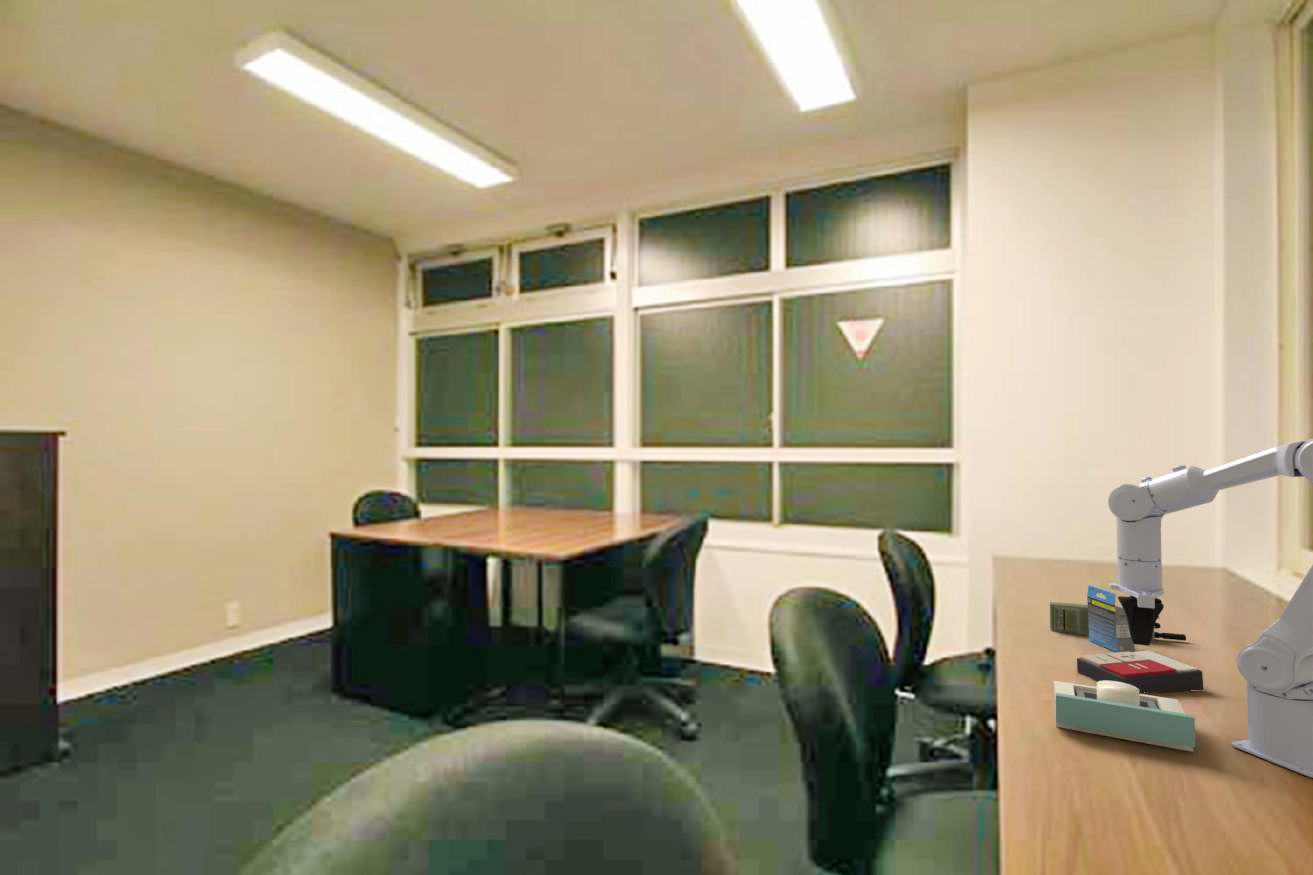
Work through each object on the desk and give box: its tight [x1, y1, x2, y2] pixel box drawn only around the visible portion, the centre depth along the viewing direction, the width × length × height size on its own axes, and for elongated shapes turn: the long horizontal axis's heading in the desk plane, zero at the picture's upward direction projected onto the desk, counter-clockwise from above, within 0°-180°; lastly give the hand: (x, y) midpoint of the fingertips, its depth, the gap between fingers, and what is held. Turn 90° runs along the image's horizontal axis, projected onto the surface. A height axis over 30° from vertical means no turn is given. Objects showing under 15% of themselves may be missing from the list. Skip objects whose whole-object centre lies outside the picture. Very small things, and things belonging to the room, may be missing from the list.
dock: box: [1053, 680, 1194, 753], centre depth 97 cm, size 11×16×4 cm
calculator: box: [1076, 650, 1204, 694], centre depth 115 cm, size 11×4×15 cm
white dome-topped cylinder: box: [1096, 680, 1140, 706], centre depth 96 cm, size 5×5×4 cm
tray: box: [1055, 689, 1196, 749], centre depth 96 cm, size 11×16×4 cm
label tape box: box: [1086, 584, 1136, 653], centre depth 135 cm, size 9×4×12 cm, turn 0°
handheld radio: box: [1049, 601, 1187, 642], centre depth 142 cm, size 7×3×25 cm
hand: (1140, 643), depth 103 cm, fingers closed
